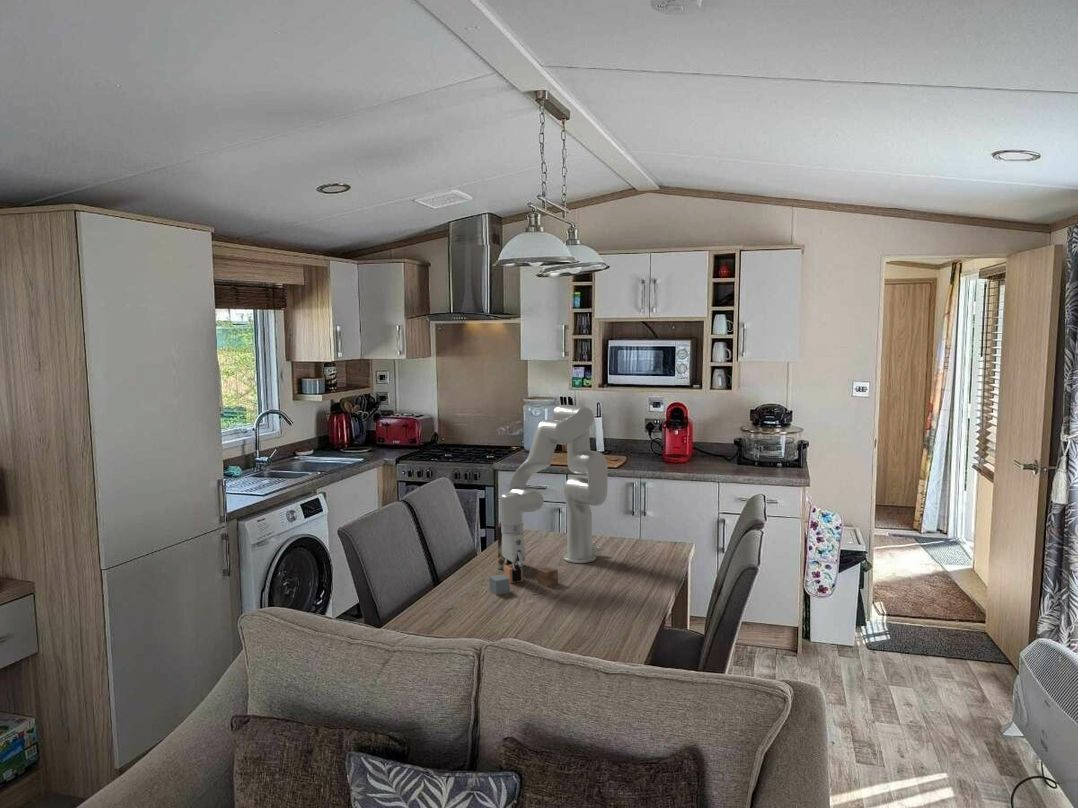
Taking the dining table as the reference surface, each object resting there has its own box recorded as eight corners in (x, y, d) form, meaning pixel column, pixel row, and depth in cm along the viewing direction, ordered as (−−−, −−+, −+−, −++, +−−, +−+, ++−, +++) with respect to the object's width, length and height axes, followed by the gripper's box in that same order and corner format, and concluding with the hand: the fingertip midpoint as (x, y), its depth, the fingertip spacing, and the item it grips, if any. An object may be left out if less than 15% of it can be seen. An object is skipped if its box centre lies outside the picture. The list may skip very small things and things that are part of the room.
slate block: (503, 588, 258) (502, 574, 257) (509, 592, 253) (509, 578, 253) (489, 591, 255) (489, 576, 255) (496, 595, 251) (495, 581, 250)
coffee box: (497, 569, 278) (496, 526, 276) (500, 564, 284) (499, 522, 283) (522, 569, 277) (521, 527, 275) (524, 564, 283) (523, 522, 282)
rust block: (516, 576, 269) (516, 563, 268) (522, 580, 264) (522, 567, 264) (503, 579, 266) (503, 565, 266) (510, 583, 262) (509, 569, 262)
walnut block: (548, 580, 265) (548, 566, 265) (557, 583, 261) (557, 569, 261) (537, 583, 262) (537, 569, 262) (546, 586, 258) (546, 572, 258)
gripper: (532, 532, 258) (533, 583, 260) (510, 521, 273) (512, 570, 275) (513, 535, 254) (514, 587, 256) (492, 524, 269) (493, 573, 271)
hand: (513, 578), depth 265 cm, fingers closed on rust block, 5 cm apart
